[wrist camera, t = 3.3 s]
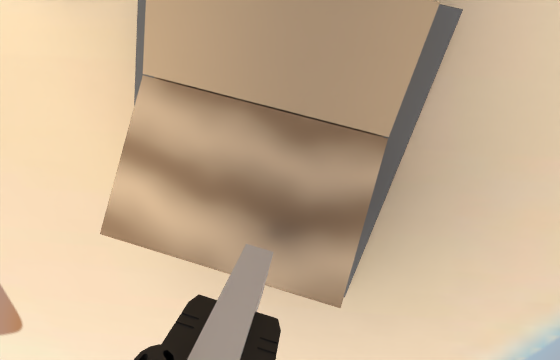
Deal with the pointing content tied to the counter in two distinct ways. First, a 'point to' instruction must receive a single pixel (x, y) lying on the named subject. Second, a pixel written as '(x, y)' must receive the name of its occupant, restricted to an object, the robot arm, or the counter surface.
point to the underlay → (306, 62)
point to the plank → (243, 187)
